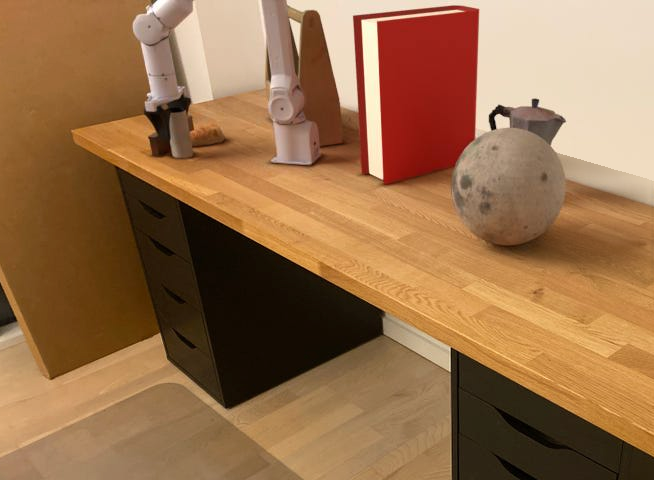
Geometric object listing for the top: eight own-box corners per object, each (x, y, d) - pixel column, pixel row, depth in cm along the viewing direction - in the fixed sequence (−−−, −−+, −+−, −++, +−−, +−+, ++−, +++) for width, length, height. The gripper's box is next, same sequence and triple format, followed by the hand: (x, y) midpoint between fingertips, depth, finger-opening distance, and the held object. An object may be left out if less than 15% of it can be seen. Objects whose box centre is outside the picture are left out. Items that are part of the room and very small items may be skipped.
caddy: (268, 118, 194) (252, -6, 177) (307, 114, 198) (295, -8, 181) (302, 149, 172) (287, 11, 156) (344, 143, 177) (334, 9, 160)
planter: (172, 153, 168) (163, 107, 162) (192, 151, 169) (184, 106, 164) (173, 159, 164) (164, 113, 159) (194, 157, 166) (186, 111, 160)
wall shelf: (195, 133, 181) (192, 115, 178) (159, 156, 166) (155, 137, 163) (188, 133, 181) (185, 115, 179) (152, 156, 166) (147, 136, 164)
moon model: (572, 229, 136) (584, 122, 125) (541, 273, 121) (552, 155, 110) (474, 212, 142) (477, 108, 131) (432, 252, 127) (432, 138, 116)
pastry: (193, 149, 170) (190, 133, 168) (177, 143, 174) (174, 127, 172) (227, 141, 176) (224, 125, 174) (211, 135, 180) (209, 120, 178)
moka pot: (556, 209, 144) (566, 107, 133) (480, 202, 147) (484, 101, 136) (560, 192, 152) (570, 94, 141) (488, 186, 155) (492, 89, 143)
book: (383, 184, 154) (376, 21, 136) (361, 174, 159) (352, 15, 141) (477, 159, 169) (483, 9, 151) (455, 151, 174) (458, 4, 156)
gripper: (160, 65, 164) (172, 125, 171) (126, 79, 152) (140, 144, 159) (189, 67, 163) (200, 127, 170) (157, 81, 151) (170, 146, 158)
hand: (173, 135), depth 165 cm, fingers open, 7 cm apart
